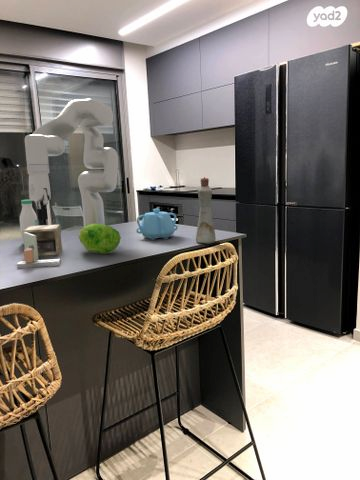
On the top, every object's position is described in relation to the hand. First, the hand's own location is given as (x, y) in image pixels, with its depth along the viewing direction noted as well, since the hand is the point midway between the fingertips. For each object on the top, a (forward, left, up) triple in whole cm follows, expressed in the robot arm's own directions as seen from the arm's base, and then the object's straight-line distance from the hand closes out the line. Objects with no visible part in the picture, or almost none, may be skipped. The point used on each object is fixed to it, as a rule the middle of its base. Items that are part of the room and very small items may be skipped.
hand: (42, 219), depth 145 cm
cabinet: (+2, -11, -15) cm, 19 cm away
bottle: (-65, -11, -15) cm, 67 cm away
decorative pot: (-46, -29, -15) cm, 56 cm away
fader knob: (+4, +10, -13) cm, 17 cm away
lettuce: (-20, -4, -15) cm, 25 cm away
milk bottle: (+12, -33, -15) cm, 39 cm away
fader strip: (+1, +10, -15) cm, 18 cm away
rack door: (+6, 0, -15) cm, 16 cm away
